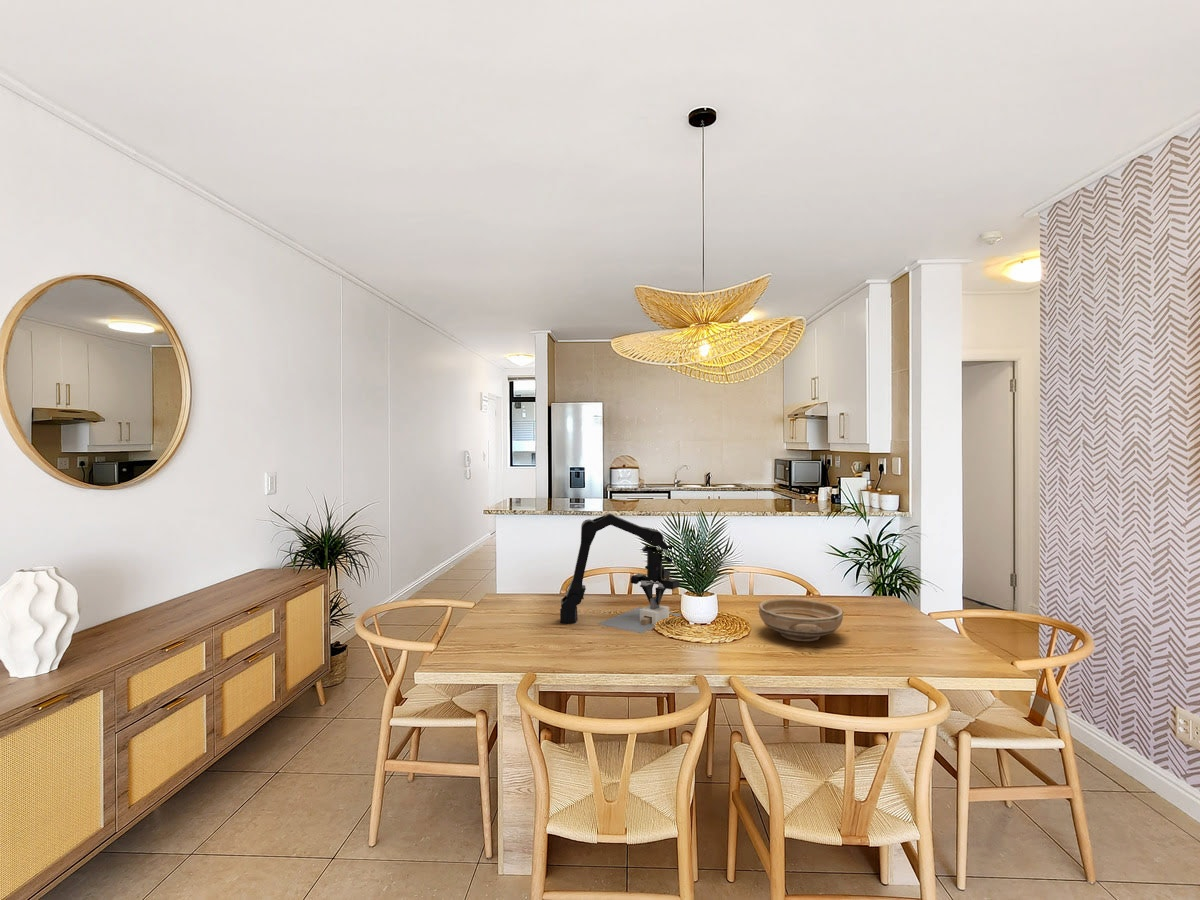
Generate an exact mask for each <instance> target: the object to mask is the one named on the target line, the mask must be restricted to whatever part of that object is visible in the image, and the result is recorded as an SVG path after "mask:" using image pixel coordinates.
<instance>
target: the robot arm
mask: <svg viewBox="0 0 1200 900" xmlns="http://www.w3.org/2000/svg"><path fill="white" fill-rule="evenodd" d="M609 526H612V527H615V528H617V529H620V530H621V531H622V530H623V531H625V532H628V533H630V534H632V535H635V536H637V537H639V538H641V540H644V542H646V543H648V544H649V545H651V546H649V545H647V544H645V545H644V547H642V549H641V550H642V551H643V553H646V563H647V564H646V565H645V567H644V569H645V570H646V573H647V574H643V573H636V574H633V575H631V577H630V584H634V585H637V584H639V583H640V585H639V587H640V588H642V591H643V592H644V593H645V596H646V597H647V600H648V602H649V603H650V598H653V597H654V596H653V587H654V586H655V585H658V586H657V587H655V596H656V601H657V605H661V600H662V598H663V596H664V593H665V591H666V590H676V589H677V588H680V585H681V584H680V580H679V579H677V578H676V579H675V578H671V577H670V575H671V571H670V570H668V569H665V565H664V564H663V561H665V562H666V563H667V564H670V563H671V564H674V563H673V562H672V560H671V559H670V558H669V557H666V556H664V557H663V549H668V548H669V549H672V546H671V545H672V544H668V543H666V542H665V541H664V535H663V534H662V533H661V532H660V531H659V530H658V529H655V528H653V527H651V528H650V527H645V526H641V525H638V524H636V523H633V522H632V521H631V522H630V521H629V520H627V519H624V518H621V517H619V516H616V515H614V514H613V513H611V512H610V513H606V514H605V515H602V516H600V517H596V518H593V519H585V520H583V521H582V523H581V527H580V545H579V549H578V553H577V554H578V555H577V558H576V563H575V567H574V571H573V575H572V578H571V581H570V583H569V585H568V588H567V590H566V595H565V596H563V597H562V599H560V609H559V613H560V615H559V622H560V624H562V625H573V624H576V623H577V621H578V605H579V604H581V603H582V600H584V596H585V595H584V594H585V593H586V590H587V588H586V585H584V584H583V581H584V576H585V571H586V566H587V562H588V557H589V554H590V548H591V545H592V543H593V540H594V539H595V536H596V534H597V532H598V531H601V530H603V529H605V528H606V527H609ZM651 541H652V542H651ZM658 547H659V548H658ZM653 552H655V553H658V552H659V553H662V554H653ZM654 584H655V585H654Z"/></svg>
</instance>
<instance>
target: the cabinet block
mask: <svg viewBox="0 0 1200 900" xmlns="http://www.w3.org/2000/svg"><path fill="white" fill-rule="evenodd" d="M669 612H670V606H667V605H661V604H659V605H657V601H656V595H655V596H653V598H650V602H649V605H648V606H646V607H643V609H640V622H641V619H643V618H645V617H647V616H649V617H652V624H656V623H657V622H659V621H660V620H663V619H666V618H669Z"/></svg>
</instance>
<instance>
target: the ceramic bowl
mask: <svg viewBox="0 0 1200 900" xmlns="http://www.w3.org/2000/svg"><path fill="white" fill-rule="evenodd" d="M758 614H759V616H760V619H761V621H762V622H763V623H764V624H765V626H767V627H768V628H770V629H771V630H773V631H776V632H778V633H780V636H781V637H783V638H785V639H787V640H791V641H795V642H815V641H817V640H819V639H820V637H823V636H827V635H829V634H832V633H834V632H835V631H837V630H838V629H839V628H840V626H841V625H842V622H843V619H844V610H843V609H842V608H841V607H840V606H837V605H835V604H833V603H829V602H825V601H821V600H816V599H809V598H800V597H780V598H771V599H766V600H762V601H761V602H759V603H758Z"/></svg>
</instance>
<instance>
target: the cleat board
mask: <svg viewBox="0 0 1200 900" xmlns="http://www.w3.org/2000/svg"><path fill="white" fill-rule="evenodd" d="M643 608H644V607H641V606H638V607H636V608H633V609H631V610H629V611H626V612H623V613H621V614H618V615H616V616H613V617H611V618H608V619H605V620H603V621H600V622H597V623H596V625H599V626H605V627H609V628H614V629H619V630H624V631H629V632H634V633H638V634H644V633H645V632H648V631H650V630H652V629H655V628H656V627H655V625H654V624H652V617H649V616H647V617H645V618H643V619H641V622H640V609H643ZM669 614H672V615H674V616H679V617H682V616H681V613H676V612H672V611H671V612H670V611H669Z"/></svg>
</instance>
